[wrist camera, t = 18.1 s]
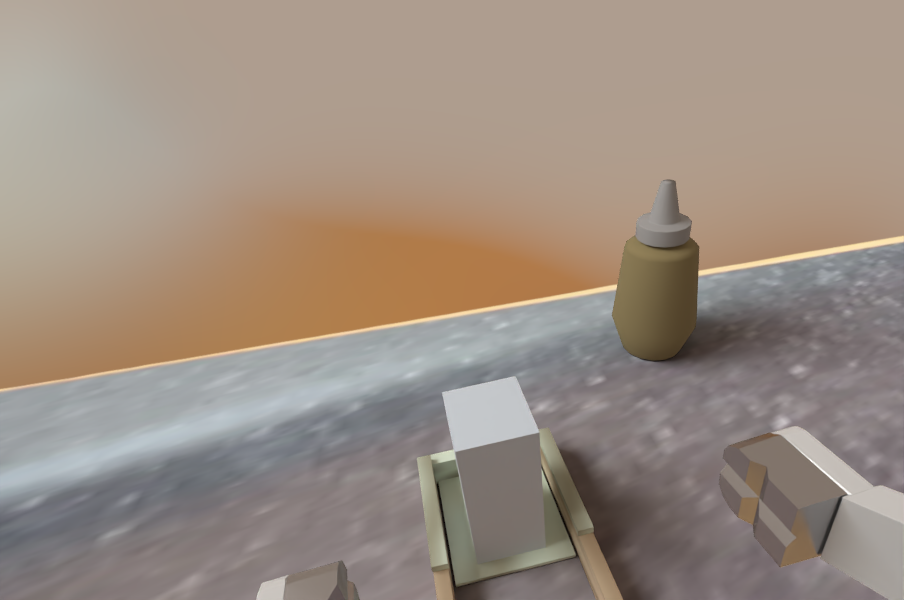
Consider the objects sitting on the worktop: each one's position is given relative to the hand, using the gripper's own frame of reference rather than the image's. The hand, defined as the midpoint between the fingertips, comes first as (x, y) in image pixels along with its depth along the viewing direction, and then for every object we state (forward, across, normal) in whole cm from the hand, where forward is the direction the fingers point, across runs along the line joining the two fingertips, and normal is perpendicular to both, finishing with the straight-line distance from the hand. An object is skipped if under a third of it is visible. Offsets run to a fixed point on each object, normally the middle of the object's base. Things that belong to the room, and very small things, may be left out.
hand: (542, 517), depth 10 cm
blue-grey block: (+16, -1, +24) cm, 29 cm away
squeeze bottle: (+31, -22, +24) cm, 45 cm away
